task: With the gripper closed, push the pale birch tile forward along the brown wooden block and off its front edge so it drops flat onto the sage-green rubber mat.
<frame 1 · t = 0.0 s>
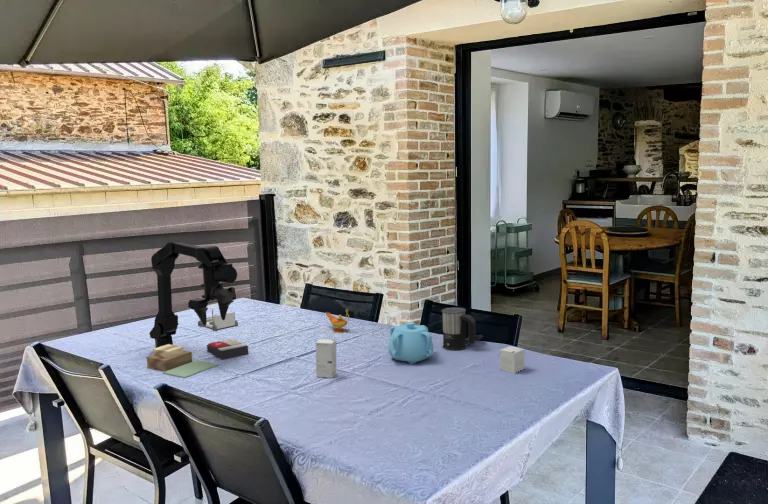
hand: (214, 322, 232), 15 cm above the table, fingers open, 9 cm apart
magic lamp: (337, 330, 273), on the table
decorative pot: (411, 359, 230), on the table
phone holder: (216, 326, 288), on the table
brown wooden block: (170, 364, 231), on the table
mat: (191, 369, 225), on the table
birch tile: (168, 354, 230), point 4 cm above the table, touching brown wooden block
skincare box: (512, 370, 215), on the table
skincare box 2: (327, 376, 214), on the table
calculator: (227, 354, 244), on the table
milk frother: (462, 345, 246), on the table
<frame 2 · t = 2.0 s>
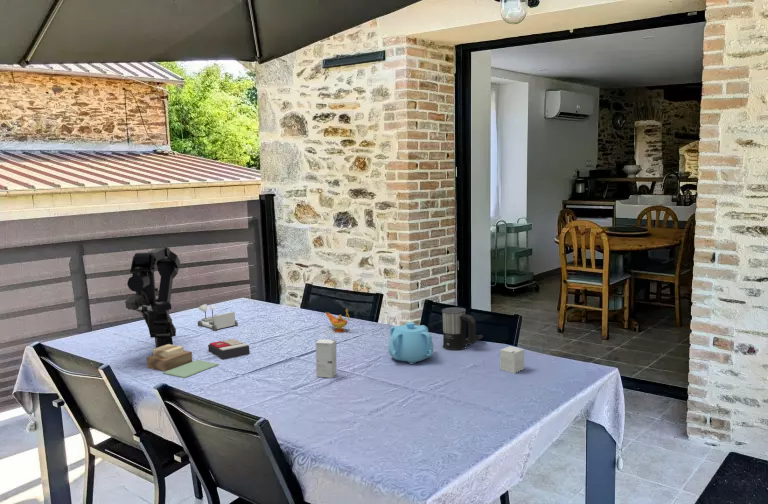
hand: (150, 327, 234), 13 cm above the table, fingers closed
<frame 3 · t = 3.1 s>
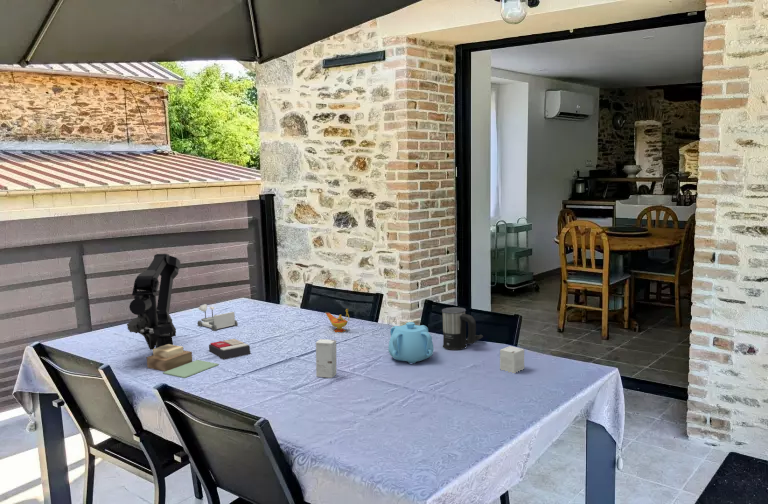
hand: (151, 349, 235), 5 cm above the table, fingers closed
nothing on the table moved.
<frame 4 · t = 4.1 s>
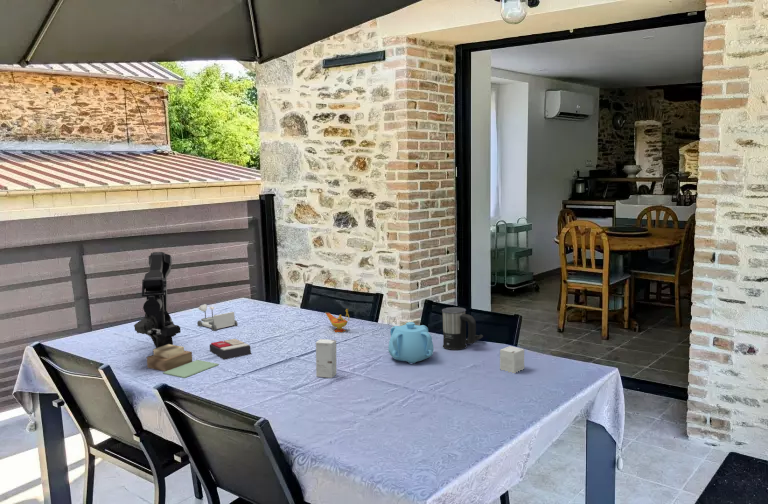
hand: (159, 350, 233), 5 cm above the table, fingers closed
birch tile: (169, 354, 230), point 4 cm above the table, touching brown wooden block, gripper
everything else where it was.
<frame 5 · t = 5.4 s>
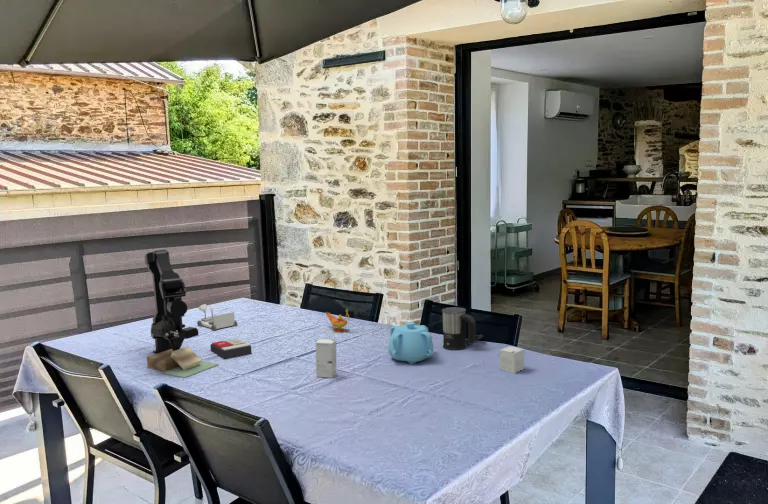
hand: (176, 353, 228), 5 cm above the table, fingers closed
birch tile: (185, 360, 227), point 3 cm above the table, tilted 32°, touching gripper
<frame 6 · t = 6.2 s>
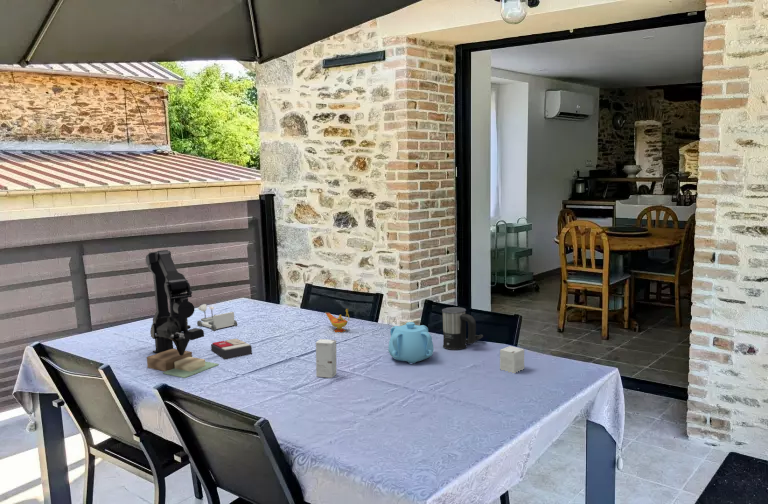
hand: (181, 355, 227), 5 cm above the table, fingers closed
birch tile: (190, 367, 226), resting on mat
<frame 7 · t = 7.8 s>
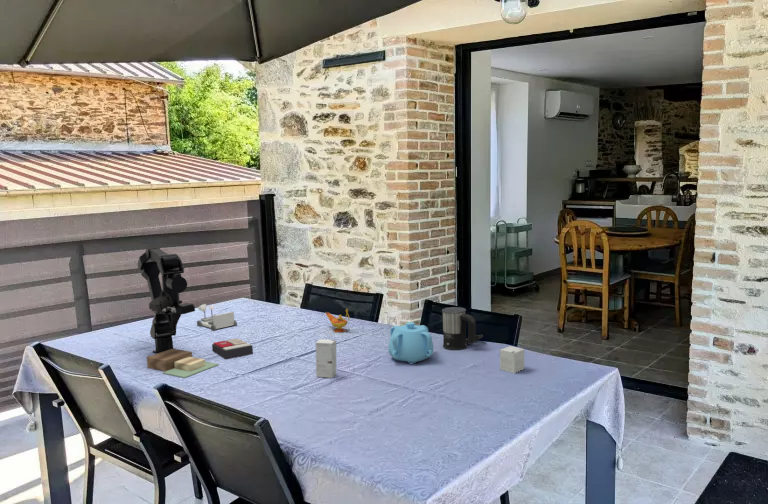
hand: (173, 328, 236), 12 cm above the table, fingers closed
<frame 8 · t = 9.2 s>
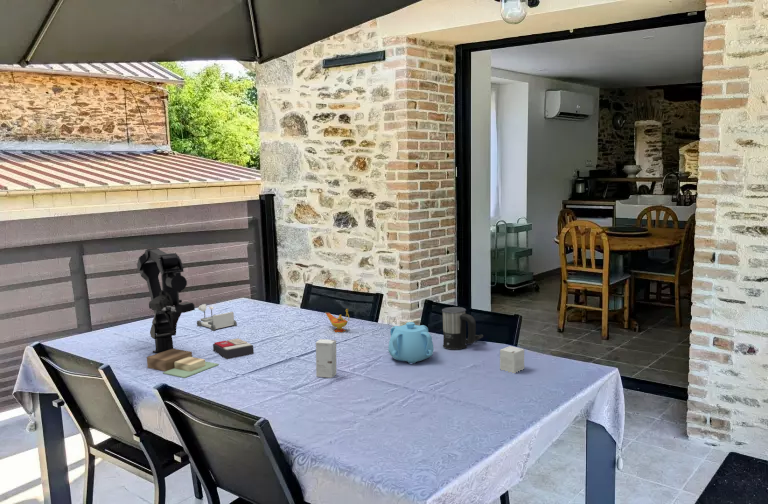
hand: (173, 328, 236), 12 cm above the table, fingers closed
at the end: birch tile inside the target area on the mat (1.7 cm from its centre), point 0.4 cm above the mat's base; birch tile tilted 0° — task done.
